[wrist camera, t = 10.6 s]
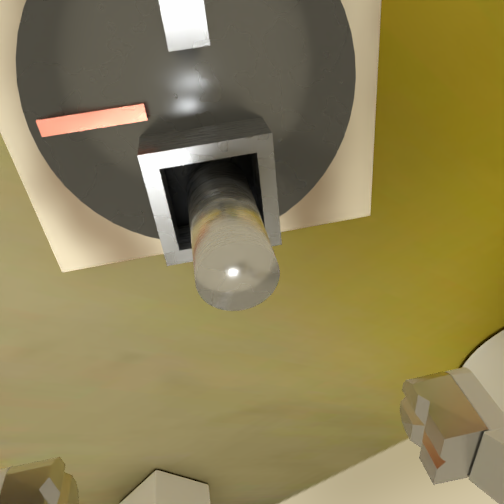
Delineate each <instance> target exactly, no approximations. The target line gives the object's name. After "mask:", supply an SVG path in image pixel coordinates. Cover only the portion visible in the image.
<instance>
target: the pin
mask: <svg viewBox="0 0 504 504" xmlns="http://www.w3.org/2000/svg"><path fill="white" fill-rule="evenodd" d="M186 194H187V204H188V214H189V224H190V234H191V244H192V254H193V264H194V274H195V283H196V288H197V291H198V293H199V295H200V296H201V298H202V299H203V300H204V301H205V302H207V303H208V304H210V305H211V306H213V307H215V308H218V309H222V310H227V311H238V310H244V309H248V308H251V307H254V306H256V305H258V304H260V303H262V302H263V301H264V300H266V299H267V298H268V297H269V296H270V295H271V294H272V293H273V291H274V290H275V288H276V286H277V284H278V281H279V276H280V270H279V265H278V262H277V260H276V257H275V254H274V251H273V249H272V246H271V243H270V241H269V238H268V235H267V232H266V230H265V227H264V224H263V222H262V219H261V216H260V213H259V211H258V208H257V205H256V203H255V200H254V197H253V194H252V192H251V189H250V186H249V184H248V181H247V178H246V176H245V174H244V173H243V172H242V170H241V169H240V168H238V167H237V166H236V165H234V164H232V163H229V162H226V161H211V162H208V163H205V164H203V165H201V166H199V167H198V168H197V169H196V170H195V171H194V172H193V173H192V174H191V176H190V177H189V179H188V182H187V187H186Z"/></svg>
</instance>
